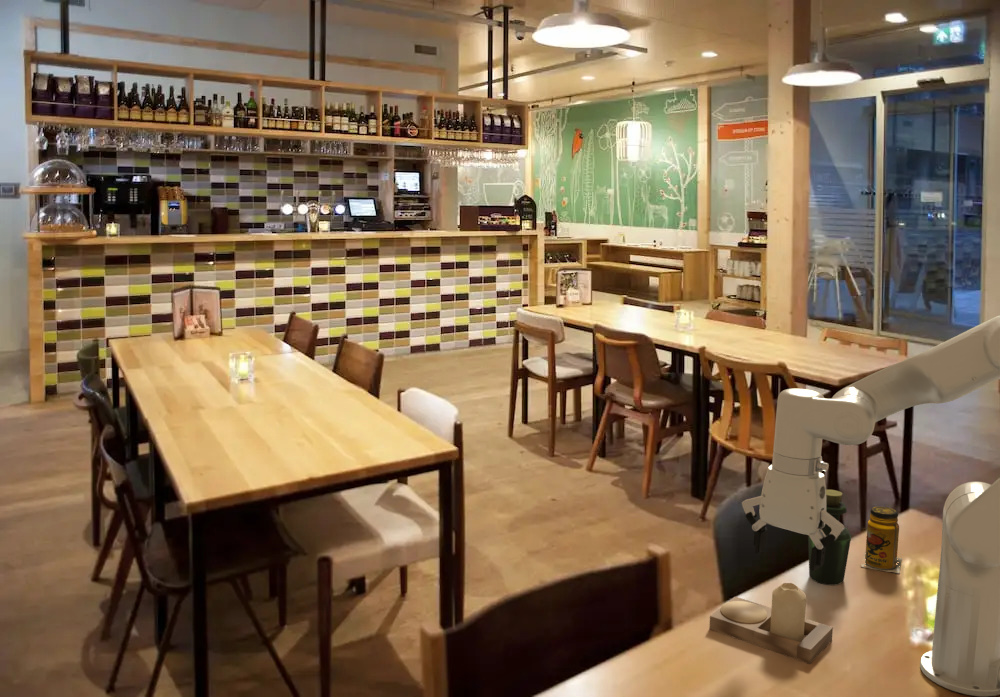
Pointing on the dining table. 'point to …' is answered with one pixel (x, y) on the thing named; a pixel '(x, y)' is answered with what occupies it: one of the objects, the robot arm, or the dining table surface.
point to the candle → (788, 612)
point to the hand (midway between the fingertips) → (787, 559)
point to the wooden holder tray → (755, 623)
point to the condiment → (882, 540)
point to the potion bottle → (832, 545)
